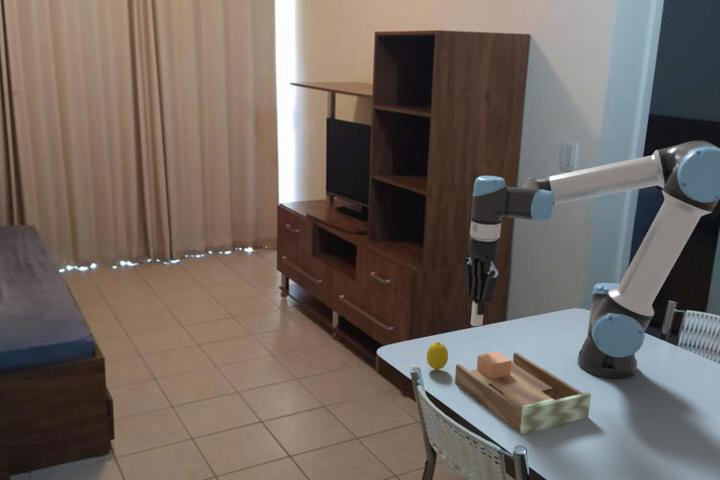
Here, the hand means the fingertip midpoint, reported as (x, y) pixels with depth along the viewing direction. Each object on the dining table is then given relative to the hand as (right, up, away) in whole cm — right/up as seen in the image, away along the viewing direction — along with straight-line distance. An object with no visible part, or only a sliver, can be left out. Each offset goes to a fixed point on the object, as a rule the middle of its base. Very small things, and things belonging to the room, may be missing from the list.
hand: (476, 324), depth 185 cm
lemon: (-10, -12, +1) cm, 16 cm away
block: (+4, -12, -4) cm, 13 cm away
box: (+8, -17, -12) cm, 22 cm away
